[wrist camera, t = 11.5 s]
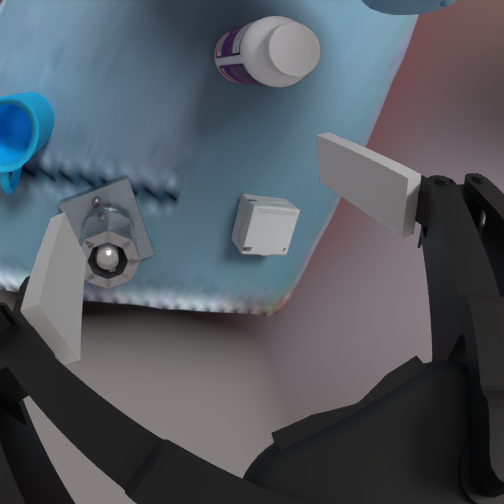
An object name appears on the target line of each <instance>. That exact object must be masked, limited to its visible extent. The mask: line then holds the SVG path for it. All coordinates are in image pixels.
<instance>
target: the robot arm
mask: <svg viewBox="0 0 504 504" xmlns="http://www.w3.org/2000/svg"><path fill="white" fill-rule="evenodd" d="M455 1H456V0H362V2H363V3H364V4H365V5H367V6H368V7H369V8H371V9H373V10H376V11H378V12H381V13H385V14H392V15H413V14H422V13H428V12H432V11H436V10H439V9H440V7H447V6H449V5H451V4H453V3H454V2H455ZM317 146H318V161H319V178H320V182H321V183H323V184H324V185H326V186H327V187H329V188H330V189H332V190H333V191H335V192H336V193H338V194H339V195H341V196H342V197H344V198H345V199H347V200H348V201H349V202H351V203H352V204H354V205H355V206H357V207H358V208H359V209H361V210H362V211H364V212H365V213H367V214H368V215H369V216H371V217H372V218H374V219H375V220H376V221H378V222H379V223H381V224H382V225H383V226H384V227H386V228H387V229H388V230H390V231H391V232H392V233H394V234H395V235H397V236H398V237H399V238H401V239H403V238H405V237H407V236H410V235H412V234H414V228H415V221H417V222H418V223H420V224H421V225H422V226H421V232H420V238H419V243H418V248H420V246H421V245H422V247H423V253H424V260H425V267H426V276H427V284H428V294H429V304H430V317H431V333H432V362H429V363H424V364H423V363H422V361H421V360H420V359H419V358H418V357H417V356H415V357H414V358H412V359H410V360H409V361H408V362H406V363H404V364H403V365H401V366H400V367H398V368H396V369H395V370H393V371H392V372H390V373H388V374H387V375H386V376H385V377H384V378H383V379H382V380H381V381H380V382H379V383H378V384H377V385H376V386H375V387H374V388H373V389H372V390H371V391H370V392H369V393H368V394H367V395H366V396H365V397H364V398H363V399H362V400H361V401H360V402H358V403H356V404H354V405H350V406H346V407H343V408H338V409H335V410H330V411H326V412H322V413H318V414H313V415H311V416H308V417H306V418H304V419H302V420H300V421H298V422H295V423H293V424H291V425H289V426H287V427H284V428H282V429H280V430H277V431H275V432H272V433H271V434H272V437H273V440H274V443H273V444H271V445H270V446H269V447H267V448H266V449H265V450H264V451H263V452H262V453H261V454H259V455H258V456H257V458H256V459H255V460H254V461H253V463H252V464H251V465H250V466H249V468H248V470H247V471H246V473H245V475H244V477H243V479H242V478H239V477H237V476H235V475H233V474H231V473H229V472H227V471H225V470H223V469H220V468H219V467H217V466H215V465H213V464H211V463H209V462H207V461H205V460H203V459H201V458H200V457H198V456H196V455H194V454H192V453H191V452H189V451H187V450H185V449H184V448H182V447H180V446H178V445H176V444H175V443H173V442H171V441H169V440H166V439H165V440H163V439H161V438H159V437H158V436H156V435H155V434H153V433H152V432H150V431H148V430H147V429H145V428H144V427H142V426H141V425H140V424H138V423H137V422H135V421H134V420H132V419H131V418H129V417H128V416H126V415H125V414H124V413H122V412H121V411H120V410H118V409H117V408H116V407H114V406H113V405H112V404H110V403H109V402H107V401H106V400H105V399H104V398H102V397H101V396H99V395H98V394H97V393H96V392H95V391H93V390H92V389H91V388H89V387H88V386H87V385H86V384H85V383H84V382H82V381H81V380H80V379H79V378H78V377H76V376H75V375H74V374H73V373H72V372H71V371H70V370H68V369H67V368H66V367H65V366H64V365H66V364H69V363H72V362H75V361H79V360H81V355H80V354H81V320H82V319H81V318H82V302H83V289H84V278H85V268H86V259H87V258H86V256H85V254H84V252H83V250H82V248H81V246H80V244H79V242H78V240H77V238H76V236H75V234H74V231H73V229H72V227H71V225H70V223H69V221H68V218H67V216H66V214H65V212H63V213H61V214H59V215H56V216H54V217H52V218H51V220H50V222H49V225H48V227H47V230H46V232H45V235H44V238H43V240H42V243H41V246H40V249H39V251H38V254H37V257H36V260H35V263H34V266H33V269H32V272H31V276H29V277H26V279H25V280H24V281H23V283H22V284H21V286H20V288H19V292H18V297H17V298H16V302H15V303H16V304H15V305H14V308H13V312H11V310H10V309H9V307H8V306H7V304H6V303H3V302H1V303H0V504H75V502H74V501H73V499H72V498H71V496H70V494H69V493H68V491H67V490H66V488H65V486H64V484H63V483H62V481H61V479H60V477H59V476H58V474H57V472H56V470H55V468H54V466H53V465H52V463H51V461H50V459H49V457H48V455H47V453H46V451H45V449H44V447H43V445H42V443H41V441H40V439H39V436H38V434H37V433H36V430H35V428H34V425H33V423H32V421H31V418H30V416H29V414H28V411H27V409H26V406H25V404H24V401H23V399H24V398H25V397H27V396H28V395H29V396H30V397H31V398H32V399H33V401H34V402H35V403H36V404H37V405H38V407H39V408H40V409H41V410H42V411H43V412H44V413H45V415H46V416H47V417H48V418H49V419H50V420H51V421H52V422H53V424H54V425H55V426H56V427H57V428H58V429H59V430H60V431H61V432H62V433H63V434H64V435H65V436H66V437H67V438H68V439H69V440H70V441H71V442H72V443H73V444H74V445H75V446H76V447H77V448H78V449H79V450H80V451H81V452H82V453H83V454H84V455H85V456H86V457H87V458H88V459H89V460H91V461H92V462H93V463H94V464H95V465H96V466H97V467H98V468H99V469H101V470H102V471H103V472H104V473H105V474H106V475H108V476H109V477H110V478H111V479H112V480H114V481H115V482H116V483H117V484H118V485H120V486H121V487H122V488H123V489H124V490H125V494H127V496H128V497H129V498H130V499H132V500H133V501H134V502H135V503H137V504H504V194H503V193H502V192H501V191H500V190H499V189H498V188H497V187H496V186H495V185H494V184H493V183H492V182H491V181H490V180H489V179H487V178H486V177H484V176H482V175H481V174H477V173H475V174H473V173H469V174H467V175H465V181H464V184H461V185H457V184H456V183H455V182H454V181H453V180H452V179H450V178H447V177H445V176H439V175H434V176H430V177H429V178H426V177H424V176H423V175H421V174H419V173H417V172H415V171H413V170H411V169H409V168H407V167H405V166H403V165H401V164H399V163H397V162H395V161H393V160H391V159H389V158H387V157H385V156H382V155H380V154H378V153H376V152H374V151H372V150H369V149H367V148H365V147H363V146H360V145H358V144H356V143H353V142H351V141H349V140H346V139H344V138H341V137H339V136H337V135H334V134H332V133H329V132H328V133H323V134H318V135H317ZM484 214H485V217H486V219H485V224H483V218H484ZM55 356H56V357H57V358H58V360H59V361H60V362H61V363H60V362H59V361H58V360H57V359H56V358H55Z"/></svg>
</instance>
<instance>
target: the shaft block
mask: <svg viewBox="0 0 504 504" xmlns="http://www.w3.org/2000/svg"><path fill="white" fill-rule="evenodd" d="M59 207H60V209H61V212H62V213H63V212H65V214H66V216H67V218H68V221H69V223H70V225H71V227H72V229H73V231H74V234H75V236H76V238H77V240H78V242H79V237H80V235H81V232H82V230H83V228H84V225H85V223H86V221H87V218H88V217H91V216H93V215H96V214H99V213H101V212H104V211H107V210H111V211H113V212H115V213H118V214H120V215H122V216H125V217H127V218H129V219H130V222H131V225H132V227H133V230H134V233H135V235H136V238H137V244H138V251H139V256H140V260H142V259H145V258H147V257H150V256H153V255H155V254H154V250H153V247H152V244H151V242H150V239H149V236H148V233H147V231H146V228H145V225H144V222H143V219H142V216H141V213H140V210H139V207H138V204H137V201H136V198H135V195H134V192H133V189H132V186H131V183H130V180H129V177H128V175H127V176H124V177H121V178H118V179H115V180H113V181H110V182H107V183H105V184H102V185H99V186H97V187H94V188H91V189H89V190H86V191H84V192H81V193H79V194H76V195H74V196H71V197H69V198H66V199H64V200H62V201H60V203H59ZM94 248H95V249H96V250H97V263H98V265H99V266H100V267H101V268H103V269H106V270H109V272H113V271H116V265H117V264H118V250H120V249H121V247H119V246H117V245H114V244H112V243H109V242H107V243H104V244H101V245H99V246H96V247H94Z"/></svg>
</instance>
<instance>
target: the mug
mask: <svg viewBox="0 0 504 504" xmlns="http://www.w3.org/2000/svg"><path fill="white" fill-rule="evenodd" d="M53 126H54V114H53V110H52V107H51V105H50V104H49V102H48V101H47V99H46V98H44V97H43V96H41V95H40V94H37V93H33V92H26V93H19V94H14V95H9V96H4V97H0V184H1V187H2V191H3V192H4V193H5V194H7V195H10V194H12V193H13V192H14V191H15V190H16V188H17V185H18V182H19V178H20V174H21V170H22V166H23V165H24V164H25V163H26V162H27V161H28V160H29V159H30V158H31V157H32V156H33V155H34V154H35V153H36V152H37V151H38V150H39V149H40V148H41V147H43V146H44V145H45V143H46V142H47V140H48V139H49V137H50V136H51V133H52V130H53ZM12 171H13V172H12ZM9 172H12V176H11V180H10V182H9Z"/></svg>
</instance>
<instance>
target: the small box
mask: <svg viewBox="0 0 504 504" xmlns="http://www.w3.org/2000/svg"><path fill="white" fill-rule="evenodd" d="M299 212H300V210H299V209H298V208H296V207H295V206H294V205H293V204H291V203H290V202H289V201H287V200H286V199H284V198H274V197H266V196H257V195H249V194H241V198H240V202H239V207H238V211H237V215H236V220H235V224H234V228H233V233H232V237H231V239H232V241H233V242H234V244H235V245H236V246H237V248H238V249H239V251H240V253H241V254H258V255H262V256H267V255H286V254H287V251H288V248H289V245H290V242H291V238H292V235H293V232H294V228H295V225H296V222H297V219H298V215H299Z"/></svg>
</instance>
